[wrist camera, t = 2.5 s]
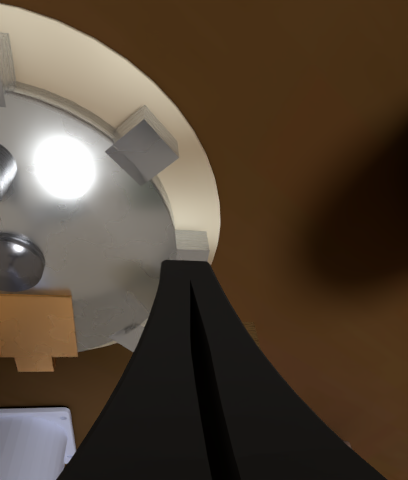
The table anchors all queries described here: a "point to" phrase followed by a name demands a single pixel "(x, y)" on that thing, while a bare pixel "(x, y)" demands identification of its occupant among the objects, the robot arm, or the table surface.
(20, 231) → the sprocket
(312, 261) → the table surface
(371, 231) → the table surface
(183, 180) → the base plate
